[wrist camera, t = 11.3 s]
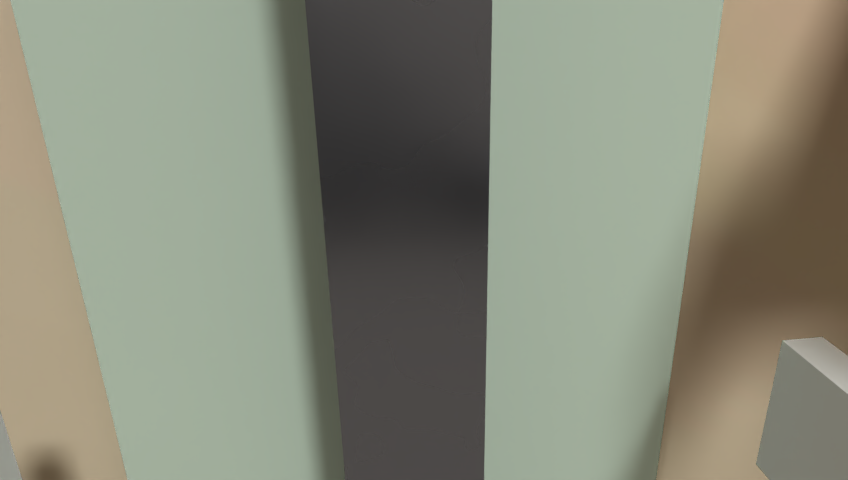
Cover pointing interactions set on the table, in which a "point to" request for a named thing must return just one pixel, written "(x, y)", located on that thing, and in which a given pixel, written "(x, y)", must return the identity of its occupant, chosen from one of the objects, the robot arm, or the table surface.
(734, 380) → the table surface
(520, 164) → the mat
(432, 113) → the rail
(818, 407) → the robot arm
